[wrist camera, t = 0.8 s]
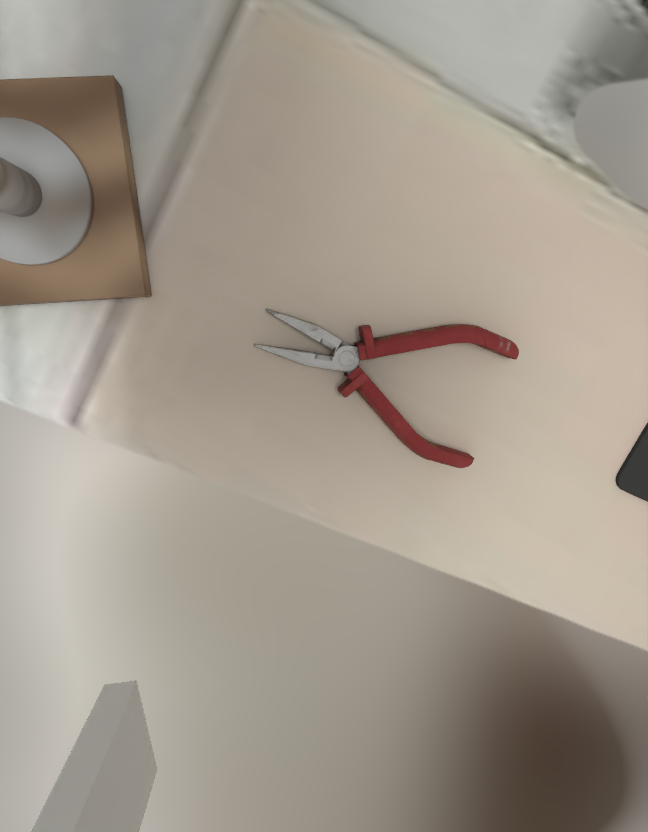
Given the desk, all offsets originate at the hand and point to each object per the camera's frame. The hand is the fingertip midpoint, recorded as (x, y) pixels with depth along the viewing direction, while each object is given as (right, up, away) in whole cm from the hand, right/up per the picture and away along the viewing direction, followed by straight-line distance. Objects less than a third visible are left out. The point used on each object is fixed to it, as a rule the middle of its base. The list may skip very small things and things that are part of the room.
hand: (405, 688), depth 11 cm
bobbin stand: (-23, +22, +21) cm, 38 cm away
